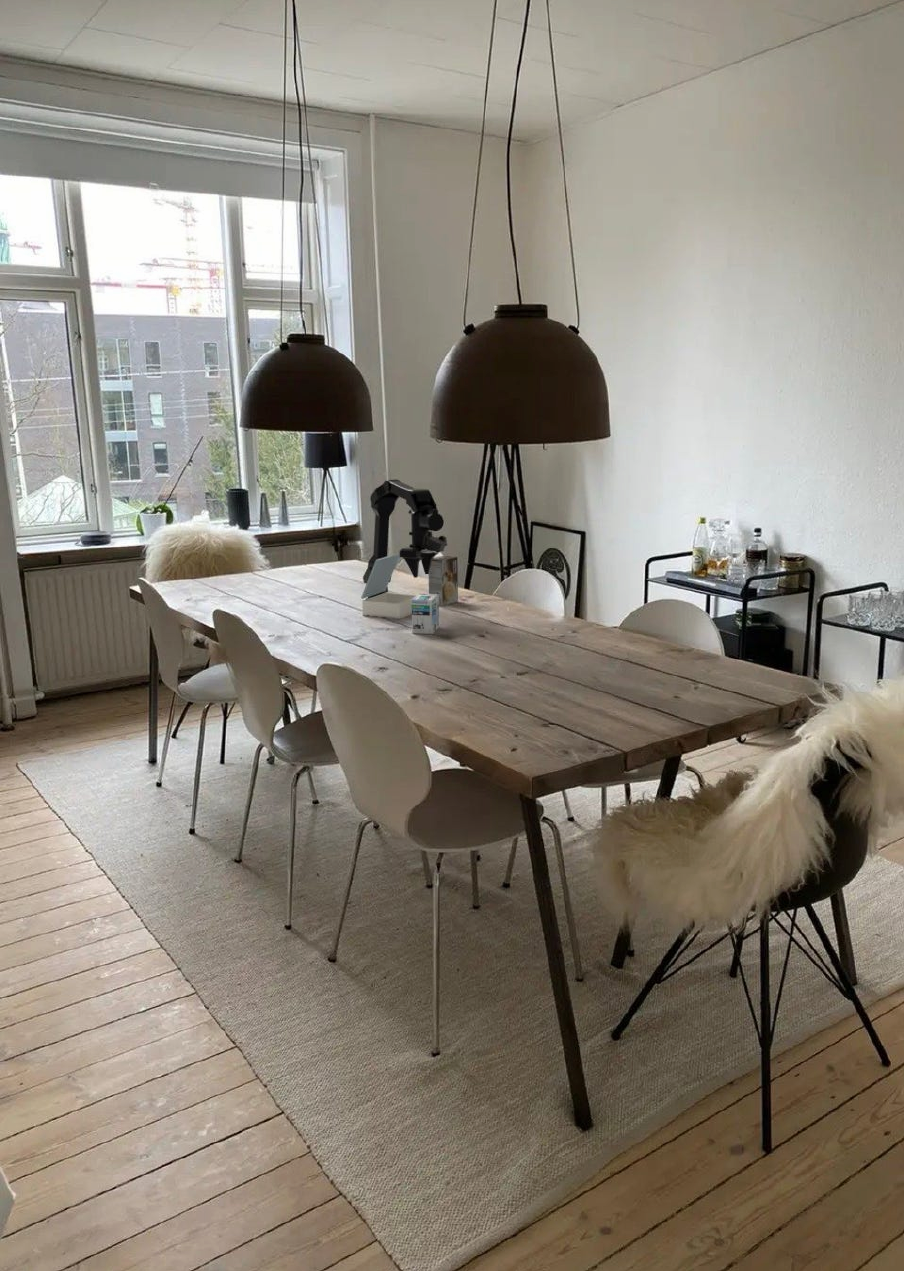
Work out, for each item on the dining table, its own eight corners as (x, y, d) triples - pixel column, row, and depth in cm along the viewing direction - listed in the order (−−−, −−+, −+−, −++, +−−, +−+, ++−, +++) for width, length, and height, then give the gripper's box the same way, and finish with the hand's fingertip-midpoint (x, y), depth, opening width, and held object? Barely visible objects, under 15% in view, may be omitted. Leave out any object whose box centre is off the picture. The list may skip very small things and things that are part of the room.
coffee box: (444, 599, 353) (443, 555, 349) (458, 601, 349) (458, 556, 345) (428, 603, 346) (427, 558, 342) (442, 606, 342) (442, 560, 338)
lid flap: (362, 598, 327) (360, 597, 327) (385, 590, 340) (383, 590, 340) (377, 560, 321) (376, 559, 321) (400, 554, 334) (398, 553, 334)
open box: (362, 615, 327) (362, 600, 326) (386, 606, 341) (386, 592, 340) (399, 619, 321) (399, 604, 320) (422, 609, 335) (422, 595, 334)
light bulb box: (432, 634, 301) (432, 600, 298) (411, 633, 302) (410, 599, 299) (440, 626, 311) (439, 593, 308) (419, 626, 312) (418, 592, 310)
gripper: (428, 532, 309) (429, 581, 312) (455, 526, 325) (455, 573, 328) (397, 531, 313) (399, 579, 317) (425, 525, 330) (426, 571, 333)
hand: (421, 575), depth 324 cm, fingers open, 7 cm apart
